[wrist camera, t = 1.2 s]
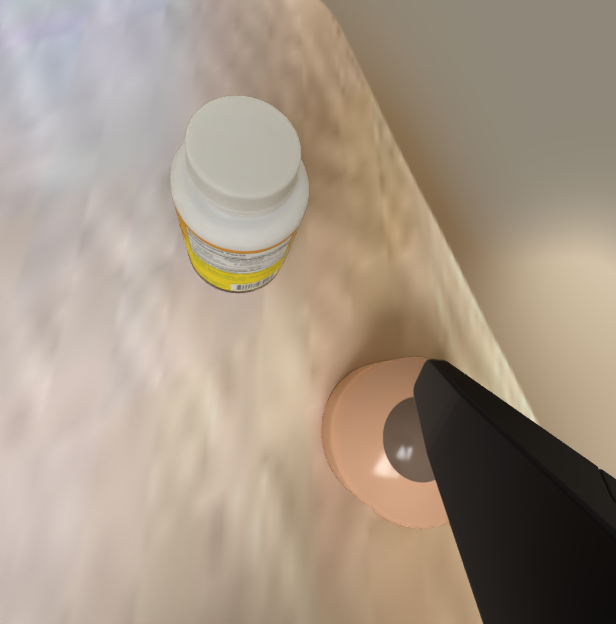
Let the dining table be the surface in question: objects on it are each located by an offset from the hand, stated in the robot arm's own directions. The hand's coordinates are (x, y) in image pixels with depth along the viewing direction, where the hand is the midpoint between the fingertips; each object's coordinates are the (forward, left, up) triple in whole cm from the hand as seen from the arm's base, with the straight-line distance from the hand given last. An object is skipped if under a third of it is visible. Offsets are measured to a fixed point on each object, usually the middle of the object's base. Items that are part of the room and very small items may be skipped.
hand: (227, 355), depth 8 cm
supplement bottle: (+2, +7, -14) cm, 16 cm away
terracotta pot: (+9, -5, -13) cm, 17 cm away
